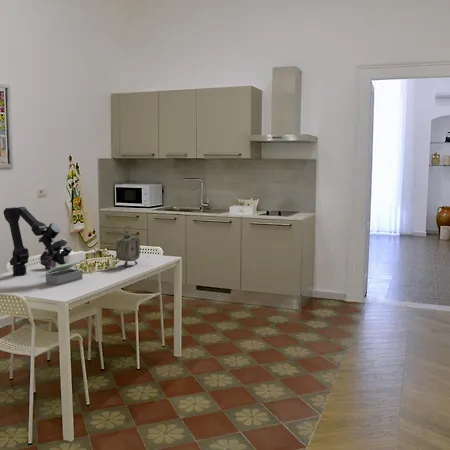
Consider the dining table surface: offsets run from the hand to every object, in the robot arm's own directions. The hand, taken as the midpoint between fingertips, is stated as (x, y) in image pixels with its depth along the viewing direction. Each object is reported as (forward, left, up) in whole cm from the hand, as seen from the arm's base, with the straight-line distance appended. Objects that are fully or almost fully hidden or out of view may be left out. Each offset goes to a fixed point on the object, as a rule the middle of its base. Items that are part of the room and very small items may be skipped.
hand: (64, 265), depth 295 cm
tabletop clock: (+31, +41, -9) cm, 52 cm away
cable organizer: (-2, +28, -9) cm, 30 cm away
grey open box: (0, 0, -9) cm, 9 cm away
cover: (-1, 0, -1) cm, 2 cm away
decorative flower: (-15, +39, -9) cm, 43 cm away
